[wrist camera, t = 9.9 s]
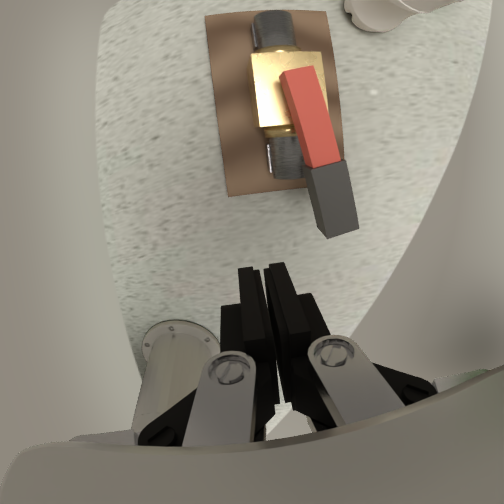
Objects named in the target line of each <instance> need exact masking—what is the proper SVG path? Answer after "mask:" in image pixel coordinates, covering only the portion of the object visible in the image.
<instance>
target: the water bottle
mask: <svg viewBox="0 0 504 504" xmlns="http://www.w3.org/2000/svg"><path fill="white" fill-rule="evenodd" d="M461 1H463V0H345V1H344V9H345V11H346V13H351V14H352V22H353V23H354V24H355V26H357V27H358V28H360V29H362V30H365V31H370V32H387V31H390V30H392V29H394V28H396V27H397V26H398V25H399V24H400V23H401V22H402V21H404V20H405V19H406V18H408V17H410V16H412V15H415V14H418V13H429V12H432V11H433V10H435V9H438V8H441V7H443V6H446V5H449V4H451V3H454V2H461Z"/></svg>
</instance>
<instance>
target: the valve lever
mask: <svg viewBox="0 0 504 504" xmlns="http://www.w3.org/2000/svg"><path fill="white" fill-rule="evenodd" d="M279 79H280V82H281V85H282V88H283V91H284V94H285V97H286V100H287V104H288V107H289V110H290V113H291V116H292V120H293V123H294V126H295V129H296V133H297V136H298V140H299V143H300V146H301V150H302V153H303V157H304V161H305V164H304V165H302V169H303V172H304V176H305V180H306V184H307V187H308V191H309V195H310V199H311V203H312V207H313V211H314V215H315V219H316V223H317V227H318V229H319V230H320V231H321V232H322V233H323V234H324V236H325V237H326V238H327V239H329V238H332V237H335V236H338V235H341V234H344V233H347V232H350V231H354V230H357V229H359V224H358V218H357V212H356V207H355V202H354V196H353V191H352V187H351V182H350V177H349V172H348V168H347V164H346V160H343V159H340V155H339V150H338V146H337V143H336V139H335V135H334V131H333V127H332V124H331V120H330V117H329V113H328V110H327V106H326V103H325V100H324V96H323V93H322V90H321V87H320V84H319V81H318V77H317V74H316V71H315V69H314V66H313V65H312V66H306V67H301V68H296V69H291V70H287V71H283V72H282V73H281V74H280V75H279Z"/></svg>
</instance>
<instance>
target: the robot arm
mask: <svg viewBox="0 0 504 504" xmlns="http://www.w3.org/2000/svg"><path fill="white" fill-rule="evenodd" d="M238 276H239V289H240V302H241V303H239V304H232V305H224V306H221V325H220V344H219V342H218V341H217V339H216V338H215V337H214V336H213V334H211V333H210V332H209V331H208V330H206V329H204V328H203V327H201V326H199V325H196V324H194V323H190V322H186V321H177V320H176V321H166V322H162V323H159V324H157V325H155V326H154V327H152V328H151V329H150V330H149V331H148V332H147V333H146V335H145V337H144V340H143V343H142V352H143V356H144V358H145V360H146V362H147V366H146V370H145V373H144V377H143V381H142V385H141V389H140V393H139V397H138V401H137V405H136V409H135V414H134V418H133V423H132V427H131V430H124V431H117V432H109V433H101V434H90V435H80V436H76V437H74V438H72V439H71V440H69V441H67V442H51V443H46V444H40V445H36V446H32V447H29V448H27V449H25V450H23V451H21V452H20V453H18V455H17V456H16V457H15V458H14V459H13V461H12V462H11V464H10V466H9V468H8V469H7V472H6V474H5V476H4V478H3V481H2V484H1V486H0V504H504V365H502V366H499V367H496V368H494V369H491V370H487V369H481V370H476V371H471V372H467V373H462V374H458V375H452V376H447V377H442V378H436V379H434V380H433V382H432V383H430V382H428V381H426V380H424V379H422V378H419V377H415V376H412V375H409V374H406V373H403V372H399V371H396V370H393V369H390V368H387V367H384V366H381V365H378V364H375V363H372V362H371V361H370V360H369V359H368V357H367V356H366V355H365V354H364V352H363V351H362V350H361V348H360V347H359V346H358V345H357V343H355V342H354V341H353V340H352V339H350V338H348V337H345V336H341V335H331V334H330V332H329V330H328V328H327V325H326V323H325V321H324V319H323V317H322V315H321V313H320V310H319V308H318V306H317V304H316V302H315V300H314V298H313V296H312V294H311V293H306V294H300V295H297V294H296V291H295V289H294V286H293V283H292V281H291V278H290V276H289V273H288V271H287V268H286V266H285V263H284V262H281V263H274V264H269V268H266V269H264V278H265V287H266V296H267V304H266V299H265V294H264V290H263V285H262V281H261V276H260V271H259V270H253V266H252V267H245V268H238ZM267 305H268V308H267ZM276 361H277V365H276ZM277 366H278V371H279V376H280V381H281V386H282V391H283V396H284V400H285V403H287V402H291V404H292V408H293V410H296V411H298V412H300V413H302V414H304V415H306V418H307V422H308V424H309V426H310V428H311V431H312V433H309V434H304V435H299V436H294V437H288V438H282V439H275V440H268V441H266V423H267V422H268V421H269V420H270V419H271V418H272V417H273V416H274V415H275V406H274V405H275V404H280V398H279V387H278V376H277Z"/></svg>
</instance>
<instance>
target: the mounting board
mask: <svg viewBox="0 0 504 504" xmlns="http://www.w3.org/2000/svg"><path fill="white" fill-rule="evenodd" d="M264 11H270V10H262V11H245V12H234V13H224V14H216V15H209V16H205V23H206V31H207V40H208V48H209V56H210V64H211V73H212V81H213V88H214V96H215V104H216V112H217V119H218V127H219V134H220V141H221V149H222V156H223V163H224V170H225V178H226V185H227V192H228V197H232V196H239V195H247V194H254V193H262V192H270V191H279V190H287V189H297V188H306V187H307V184H306V180H305V178H300V179H288V180H283V179H275V178H273V172H272V173H270V172H269V171H268V166H267V157H266V148H265V144H270V143H269V138H265V133H264V127H254V124H253V116H252V108H251V100H250V92H249V84H248V76H247V69H246V68H247V65H248V61H249V58H250V55H251V54H253V53H254V52H255V51H253V45H252V38H251V31H250V28H251V24H252V23H254V20H253V17H254V16H255V15H256V14H258V13H261V12H264ZM283 11H287V12H289V13H291V14H292V20H293V25H294V31H295V37H296V44H297V46H298V47H300V48H301V51H309V52H321V56H322V63H323V70H324V77H325V85H326V93H327V102H328V112H329V117H330V120H331V124H332V127H333V131H334V135H335V139H336V143H337V146H338V150H339V155H340V159H343V160H344V145H343V131H342V119H341V109H340V99H339V91H338V82H337V75H336V67H335V60H334V54H333V47H332V41H331V36H330V30H329V25H328V19H327V14H326V11H309V10H283Z"/></svg>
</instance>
